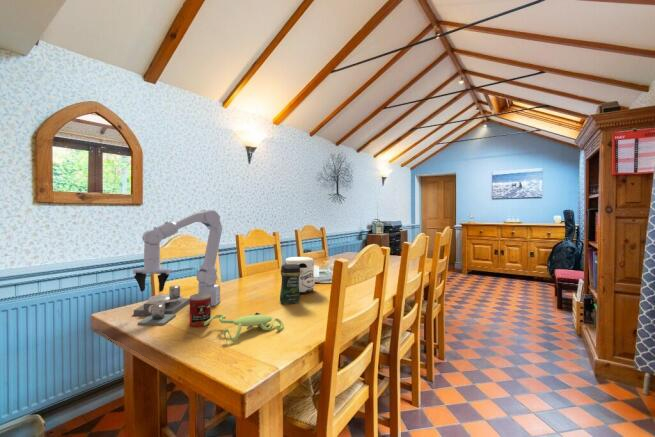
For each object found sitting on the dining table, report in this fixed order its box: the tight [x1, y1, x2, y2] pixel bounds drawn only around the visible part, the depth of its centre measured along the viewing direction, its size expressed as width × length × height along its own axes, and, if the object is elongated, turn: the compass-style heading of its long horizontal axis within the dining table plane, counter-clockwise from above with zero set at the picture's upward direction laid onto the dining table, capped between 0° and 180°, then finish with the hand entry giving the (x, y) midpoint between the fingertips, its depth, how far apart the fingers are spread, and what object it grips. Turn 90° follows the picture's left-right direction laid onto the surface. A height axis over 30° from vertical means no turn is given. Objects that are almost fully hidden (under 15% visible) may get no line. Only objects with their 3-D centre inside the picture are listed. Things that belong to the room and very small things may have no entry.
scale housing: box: [133, 297, 190, 316], centre depth 140 cm, size 16×18×5 cm
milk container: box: [284, 256, 316, 294], centre depth 173 cm, size 17×17×18 cm
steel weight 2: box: [168, 285, 181, 299], centre depth 141 cm, size 4×4×5 cm
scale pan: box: [147, 293, 183, 303], centre depth 141 cm, size 14×14×1 cm
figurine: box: [203, 312, 285, 343], centre depth 118 cm, size 18×27×6 cm
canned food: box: [189, 293, 212, 328], centre depth 122 cm, size 8×8×11 cm
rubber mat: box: [137, 313, 177, 326], centre depth 125 cm, size 10×10×1 cm
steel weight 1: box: [152, 304, 165, 320], centre depth 125 cm, size 4×4×5 cm
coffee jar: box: [279, 263, 301, 305], centre depth 153 cm, size 10×8×19 cm
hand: (151, 290), depth 132 cm, fingers open, 7 cm apart
